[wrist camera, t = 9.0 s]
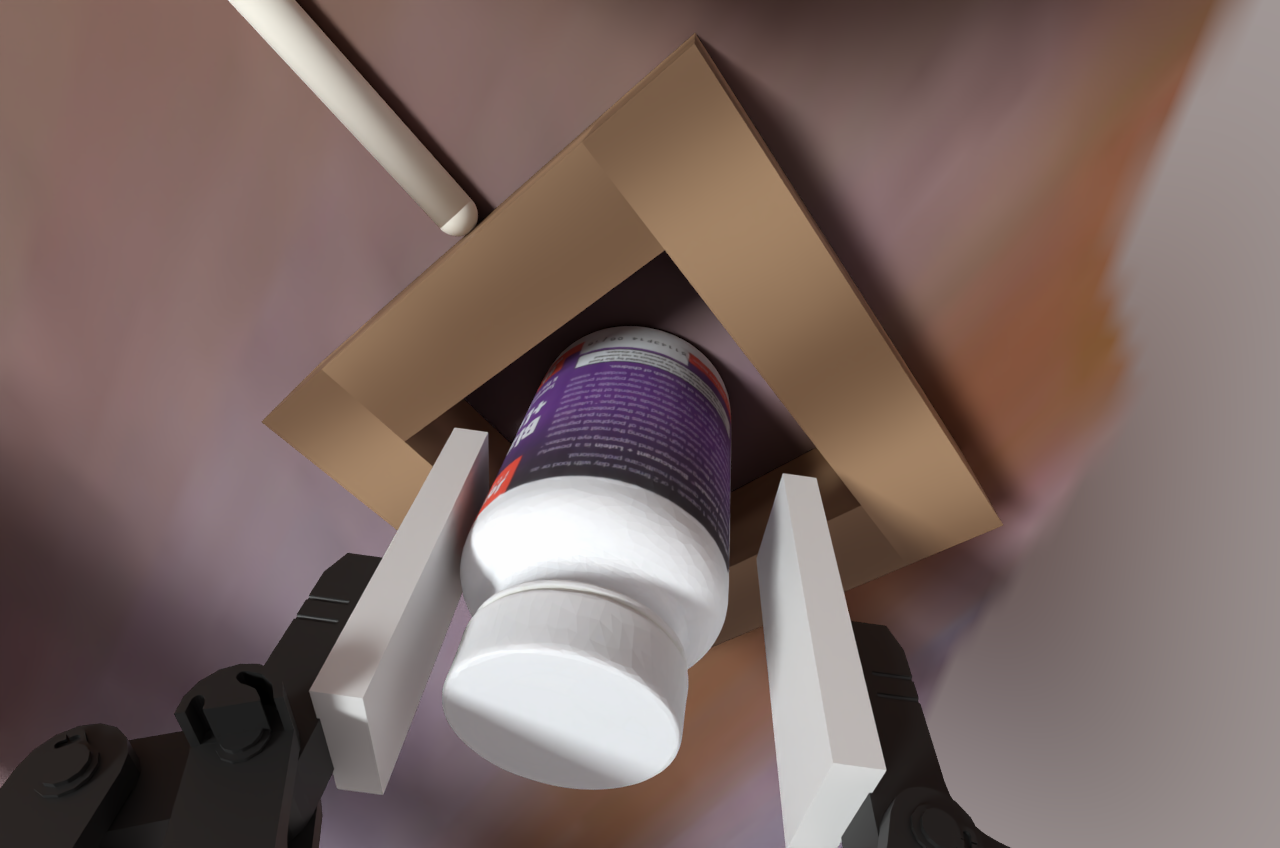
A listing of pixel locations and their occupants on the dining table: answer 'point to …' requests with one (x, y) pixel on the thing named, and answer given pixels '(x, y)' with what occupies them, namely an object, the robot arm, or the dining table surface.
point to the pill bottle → (598, 566)
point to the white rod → (361, 110)
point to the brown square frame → (724, 278)
